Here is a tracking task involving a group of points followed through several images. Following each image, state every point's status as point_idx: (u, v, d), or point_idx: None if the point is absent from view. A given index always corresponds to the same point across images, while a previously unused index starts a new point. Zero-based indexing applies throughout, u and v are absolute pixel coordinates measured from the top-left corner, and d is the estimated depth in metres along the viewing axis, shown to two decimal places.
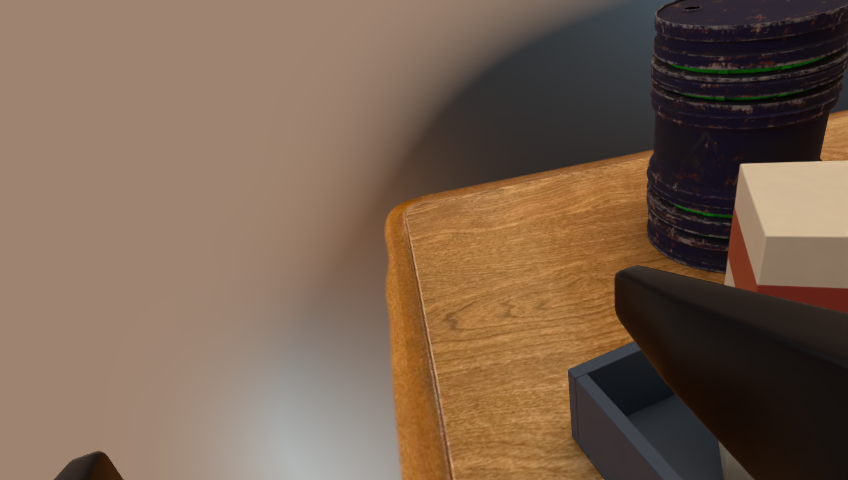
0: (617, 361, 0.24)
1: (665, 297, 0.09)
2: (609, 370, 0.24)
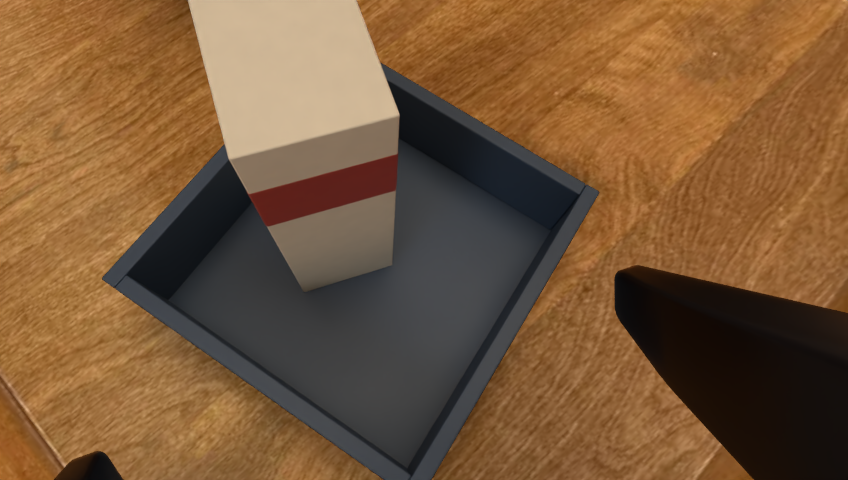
0: (158, 240, 0.20)
1: (665, 297, 0.09)
2: (153, 252, 0.20)
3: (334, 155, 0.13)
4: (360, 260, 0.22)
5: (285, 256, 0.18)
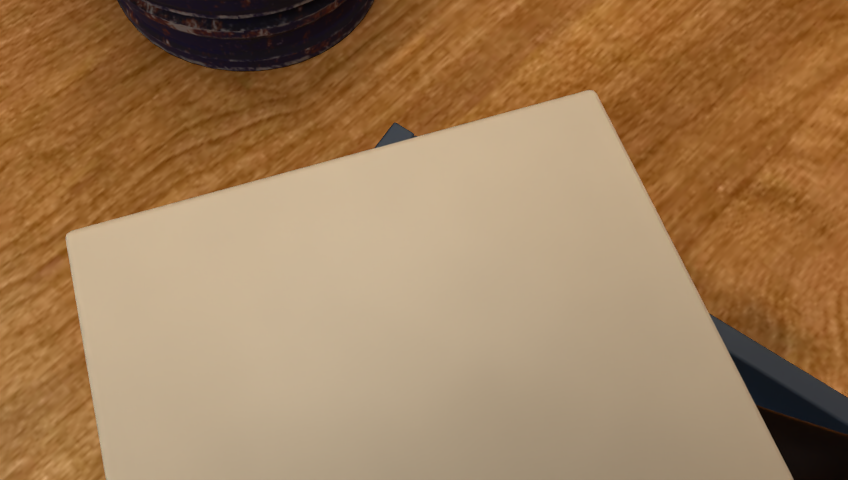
0: None
1: None
2: None
3: None
4: None
5: None
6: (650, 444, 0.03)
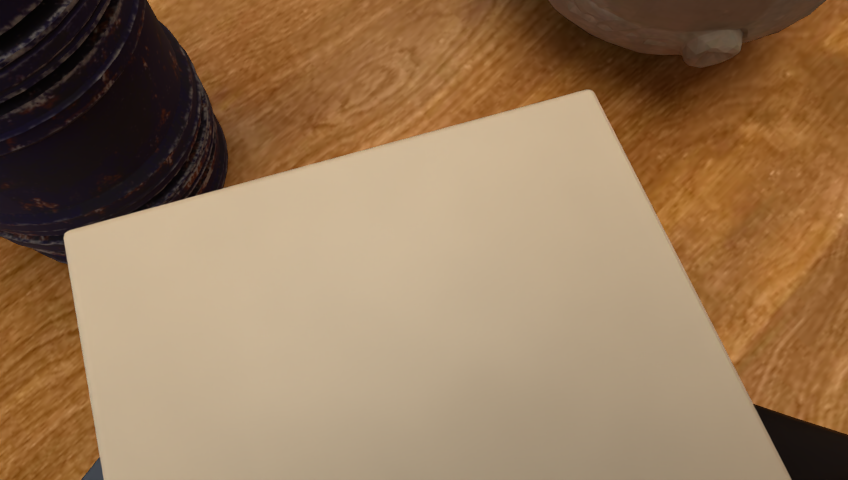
0: None
1: None
2: None
3: None
4: None
5: None
6: (648, 443, 0.03)
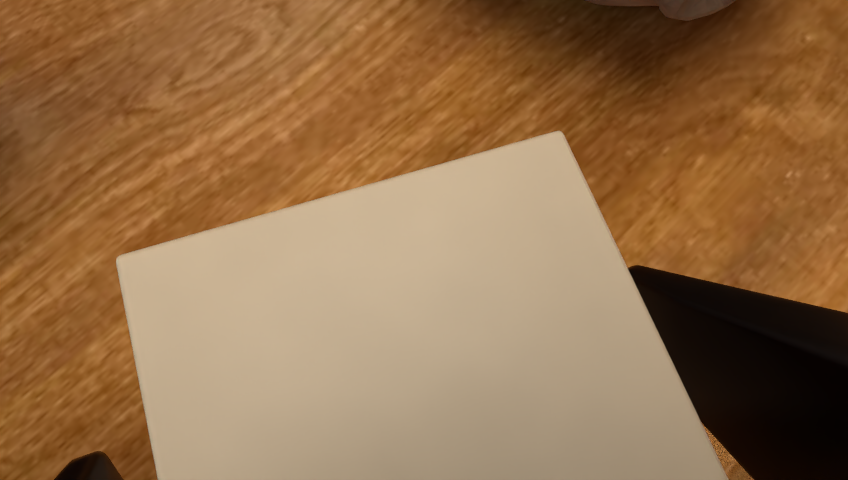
0: None
1: (665, 297, 0.09)
2: None
3: None
4: None
5: None
6: (601, 432, 0.04)
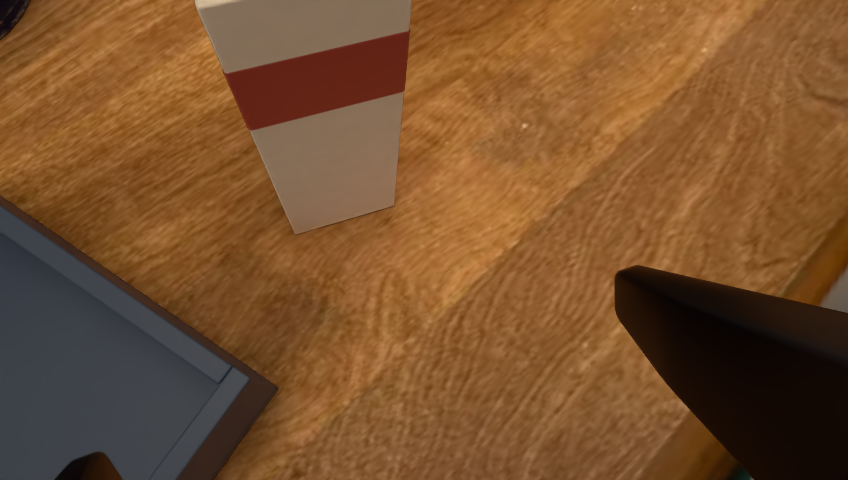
0: None
1: (665, 297, 0.09)
2: None
3: (332, 21, 0.11)
4: (360, 195, 0.19)
5: (273, 179, 0.16)
6: None
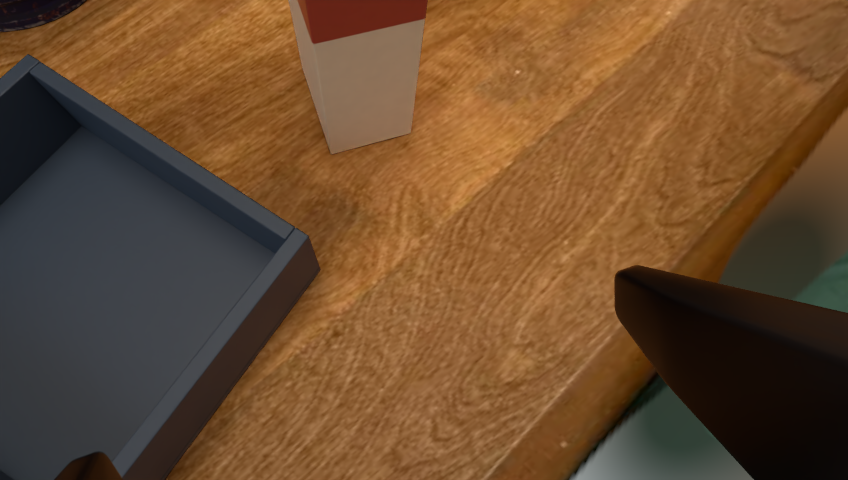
0: None
1: (665, 297, 0.09)
2: None
3: None
4: (385, 117, 0.24)
5: (322, 93, 0.21)
6: None
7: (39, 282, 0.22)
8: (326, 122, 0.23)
